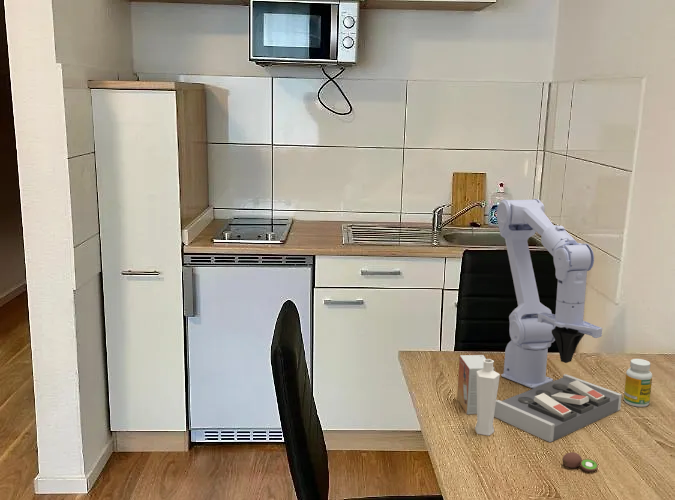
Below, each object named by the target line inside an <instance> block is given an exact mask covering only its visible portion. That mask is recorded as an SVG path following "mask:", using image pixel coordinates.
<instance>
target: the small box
mask: <svg viewBox="0 0 675 500" xmlns="http://www.w3.org/2000/svg"><path fill="white" fill-rule="evenodd" d="M458 358H459V360H458V361H459V363H458V377H457V393H456V399H457V400H458V402H459V404H460V405H461V407H462V409H463V411H464V412H465V414H466V415H477V371H479V370H482V369H483V366H484V361H483V360H484V359H487V358H486V356H485V355H484V354H472V355H471V354H468V355H467V354H466V355H465V354H464V355H463V354H461V355H459V357H458ZM493 370H494V371H495V367H494V366H493Z"/></svg>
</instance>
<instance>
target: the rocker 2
mask: <svg viewBox="0 0 675 500" xmlns="http://www.w3.org/2000/svg"><path fill="white" fill-rule="evenodd" d="M551 398H554V399H556V400H559V401H561V402H565V403H571V404H578V405H582V404H584V403H586V402H589V397H588V396H581V395H575V394H568V393H561V392H559V393H556V394H554V395H551Z"/></svg>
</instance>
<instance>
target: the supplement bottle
mask: <svg viewBox="0 0 675 500" xmlns="http://www.w3.org/2000/svg"><path fill="white" fill-rule="evenodd" d="M629 366H630V367H629V368H628V369H627V370H626V372H625V382H624V389H623V390H624V393H623V400H624V401H623V402H625V403H626V404H628V405H630V406H633V407H637V408H639V407H641V408H643V407H644V408H645V407H647V406H648V405H650V400H651V392H652V383H653V373H652V372H651V371H650V369H651V362H650V361H649V360H646V359H642V358H632V359H630V363H629Z"/></svg>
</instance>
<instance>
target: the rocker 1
mask: <svg viewBox="0 0 675 500" xmlns="http://www.w3.org/2000/svg"><path fill="white" fill-rule="evenodd" d="M534 401H535V402H537V403H538V404H540V405H541V406H543V407H544V408H546V409H547V410H549V411H550V412H552V413H555V414H557V415H560V416H562V417H565V416H567V415H569V414H571V410H569V409H568V408H566V407H565V406H563V405H562V404H560V403H559V402H557V401H555V400H554V399H552V398H551V397H549V396H548V395H546V394H545V393H542V394H540V395H537V396H535V398H534Z"/></svg>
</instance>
